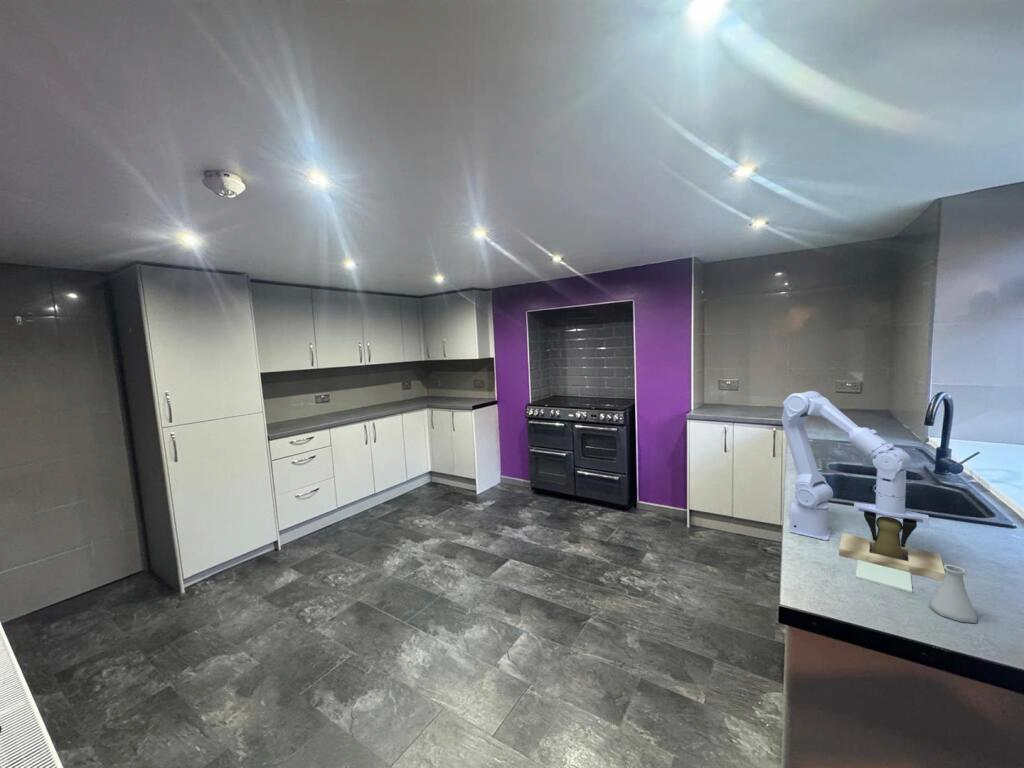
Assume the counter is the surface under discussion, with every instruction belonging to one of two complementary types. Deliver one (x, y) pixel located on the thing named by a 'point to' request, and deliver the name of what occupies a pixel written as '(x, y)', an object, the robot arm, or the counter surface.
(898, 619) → the counter surface
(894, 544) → the cork
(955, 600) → the flask
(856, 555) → the socket board
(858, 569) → the rubber mat
